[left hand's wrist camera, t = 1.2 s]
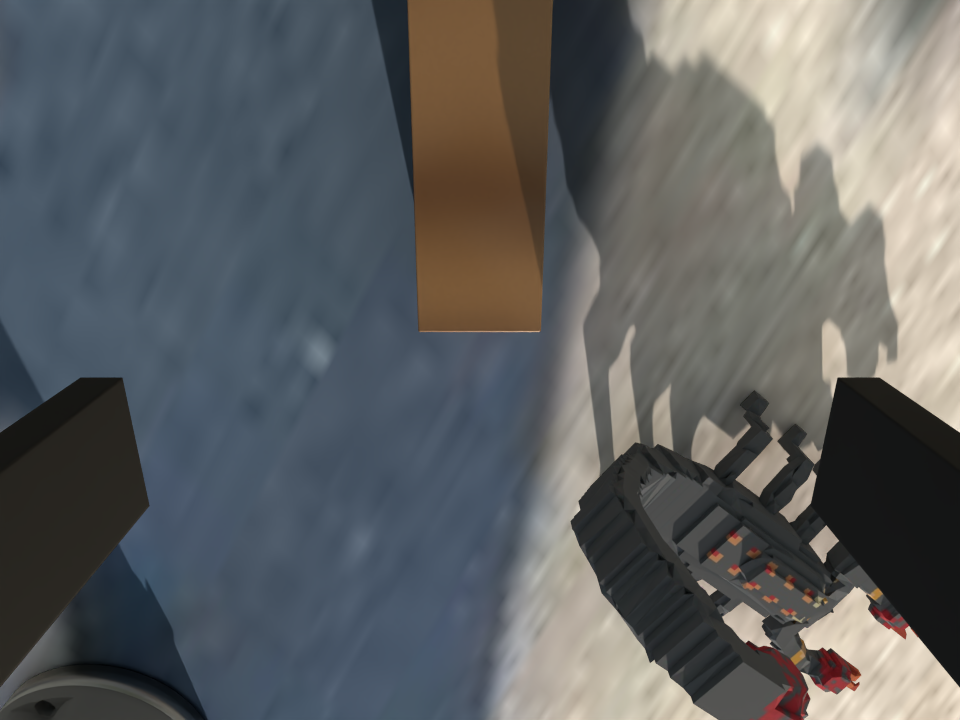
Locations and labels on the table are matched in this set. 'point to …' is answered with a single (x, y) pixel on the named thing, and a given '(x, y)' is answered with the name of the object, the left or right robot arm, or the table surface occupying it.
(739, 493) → the toy
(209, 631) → the table surface
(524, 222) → the bar
